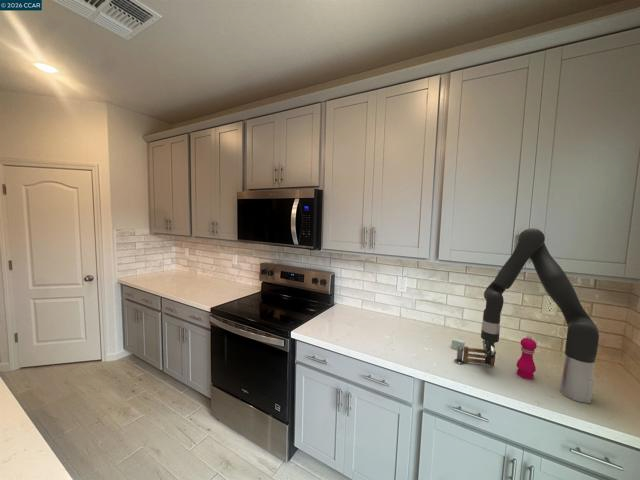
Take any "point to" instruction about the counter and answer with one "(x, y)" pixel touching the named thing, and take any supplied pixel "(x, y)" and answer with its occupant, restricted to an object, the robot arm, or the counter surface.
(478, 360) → the gate
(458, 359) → the hinge post
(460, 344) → the block
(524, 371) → the pepper mill
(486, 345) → the robot arm
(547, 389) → the counter surface
